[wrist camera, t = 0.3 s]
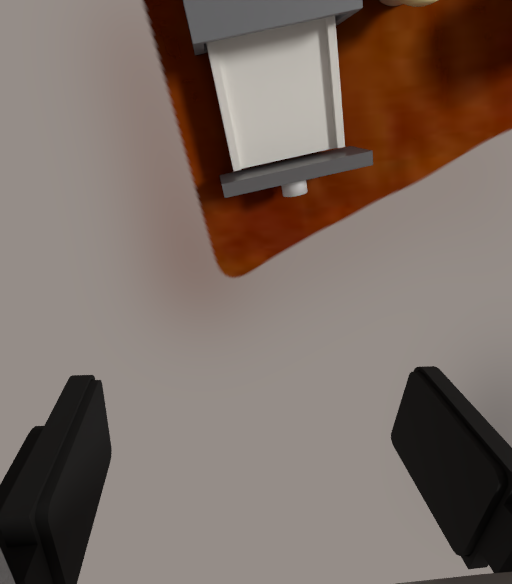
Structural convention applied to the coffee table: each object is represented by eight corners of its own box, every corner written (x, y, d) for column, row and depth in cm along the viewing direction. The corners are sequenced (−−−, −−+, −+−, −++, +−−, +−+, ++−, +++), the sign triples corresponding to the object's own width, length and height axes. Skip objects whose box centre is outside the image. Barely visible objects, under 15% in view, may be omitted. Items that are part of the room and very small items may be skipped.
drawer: (182, 15, 31) (178, -4, 26) (339, -18, 31) (364, -43, 26) (225, 202, 38) (228, 215, 33) (352, 174, 38) (373, 182, 33)
